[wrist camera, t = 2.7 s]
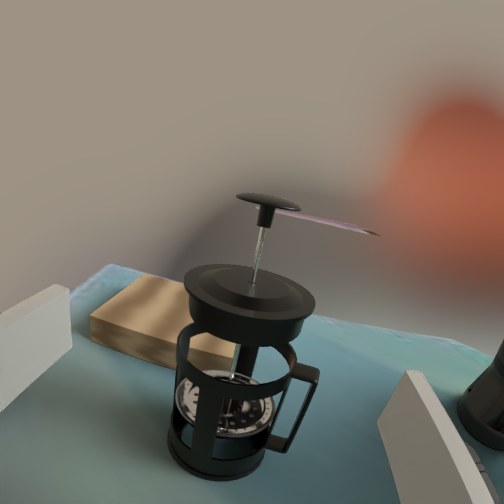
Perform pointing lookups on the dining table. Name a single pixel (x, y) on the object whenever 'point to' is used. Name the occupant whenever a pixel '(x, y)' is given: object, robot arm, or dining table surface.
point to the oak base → (156, 326)
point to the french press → (238, 359)
